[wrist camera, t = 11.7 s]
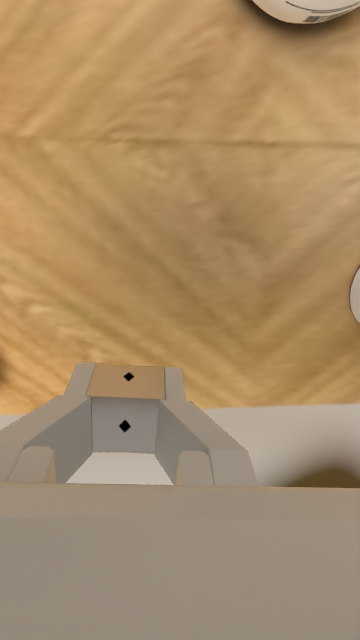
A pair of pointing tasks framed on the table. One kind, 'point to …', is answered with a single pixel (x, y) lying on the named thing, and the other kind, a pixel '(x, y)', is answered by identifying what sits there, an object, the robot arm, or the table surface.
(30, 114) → the table surface
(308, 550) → the robot arm
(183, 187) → the table surface
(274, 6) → the milk container
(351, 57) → the table surface
